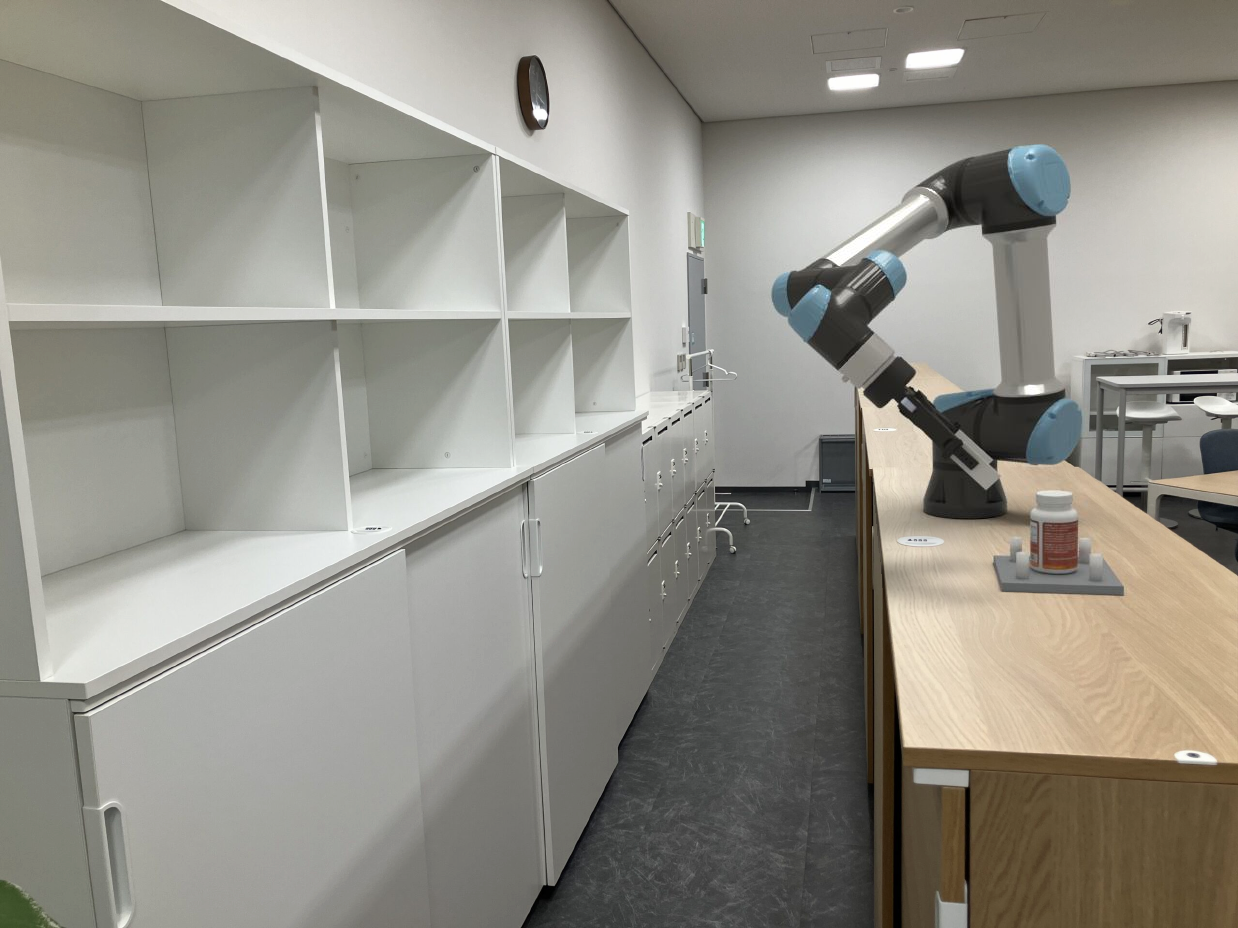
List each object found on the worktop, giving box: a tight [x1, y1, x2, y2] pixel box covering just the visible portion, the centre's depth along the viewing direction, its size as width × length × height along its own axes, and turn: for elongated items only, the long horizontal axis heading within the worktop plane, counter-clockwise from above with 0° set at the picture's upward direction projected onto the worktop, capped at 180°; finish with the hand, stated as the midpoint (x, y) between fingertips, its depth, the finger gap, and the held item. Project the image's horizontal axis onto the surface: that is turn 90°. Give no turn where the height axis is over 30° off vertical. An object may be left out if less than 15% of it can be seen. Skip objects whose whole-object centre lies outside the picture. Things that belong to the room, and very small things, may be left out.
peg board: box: [993, 536, 1125, 596], centre depth 132 cm, size 15×15×5 cm
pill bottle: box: [1029, 489, 1079, 574], centre depth 132 cm, size 6×6×11 cm
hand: (989, 474), depth 133 cm, fingers open, 13 cm apart
